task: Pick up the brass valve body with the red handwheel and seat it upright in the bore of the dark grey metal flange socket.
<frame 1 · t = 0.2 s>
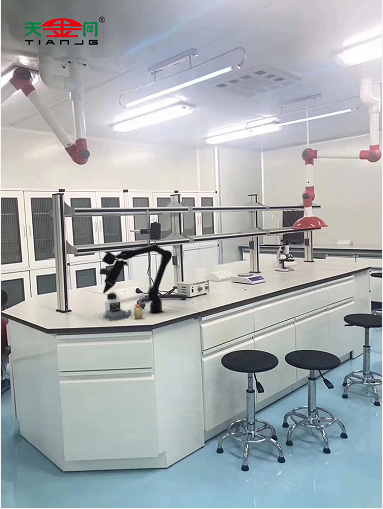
hand: (104, 291, 243), 15 cm above the table, tool tilted 30°, fingers open, 9 cm apart
medicine bottle: (113, 312, 253), on the table
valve: (138, 318, 235), on the table
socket: (115, 317, 239), on the table
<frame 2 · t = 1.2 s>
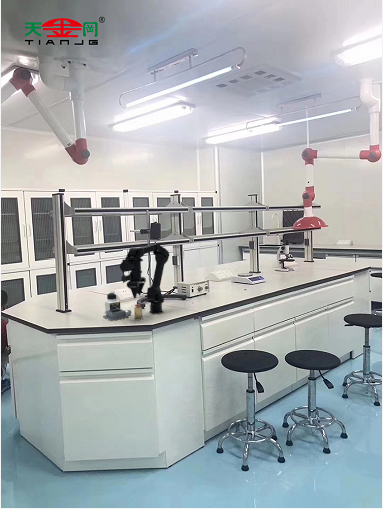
hand: (137, 296, 234), 13 cm above the table, tool pointing down, fingers open, 9 cm apart
nothing on the table moved.
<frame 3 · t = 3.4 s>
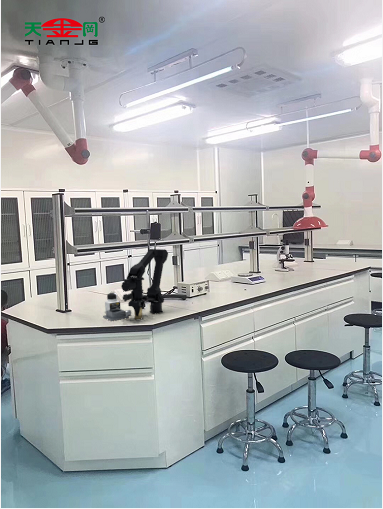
hand: (138, 315, 235), 2 cm above the table, tool pointing down, fingers closed on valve, 4 cm apart
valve: (138, 318, 235), on the table, touching gripper
everything else where it was.
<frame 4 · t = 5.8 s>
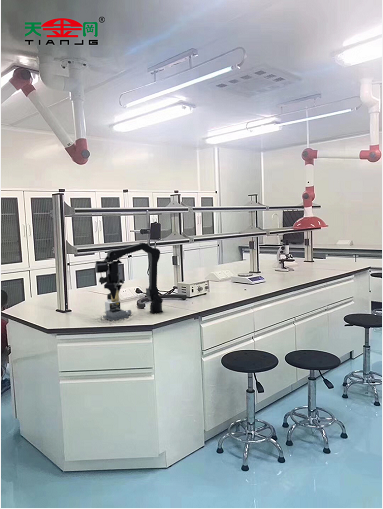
hand: (115, 297, 237), 12 cm above the table, tool pointing down, fingers closed on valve, 4 cm apart
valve: (115, 301, 238), point 10 cm above the table, touching gripper
everything else where it was.
when the fingers open (5 cm above the table, at t = 8.1 s): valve drops 2 cm, resting on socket.
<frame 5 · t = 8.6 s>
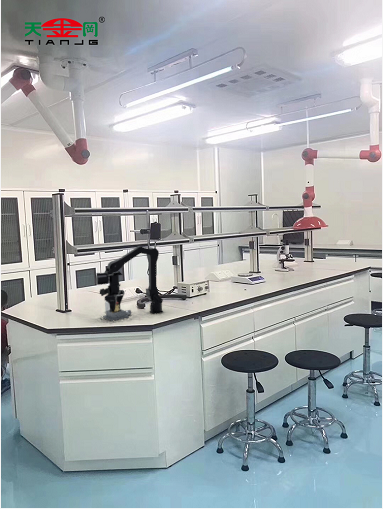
hand: (115, 309, 238), 5 cm above the table, tool pointing down, fingers open, 9 cm apart
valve: (115, 315, 238), point 1 cm above the table, touching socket
everything else where it was.
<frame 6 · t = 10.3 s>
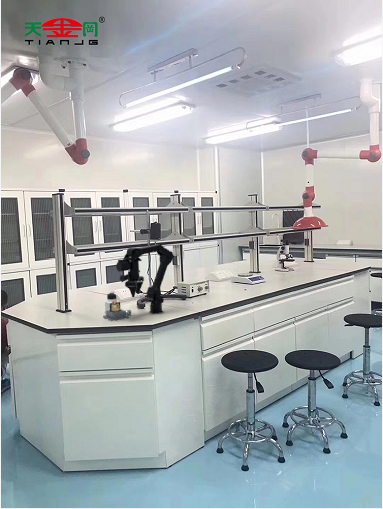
hand: (135, 295, 238), 13 cm above the table, tool pointing down, fingers open, 9 cm apart
nothing on the table moved.
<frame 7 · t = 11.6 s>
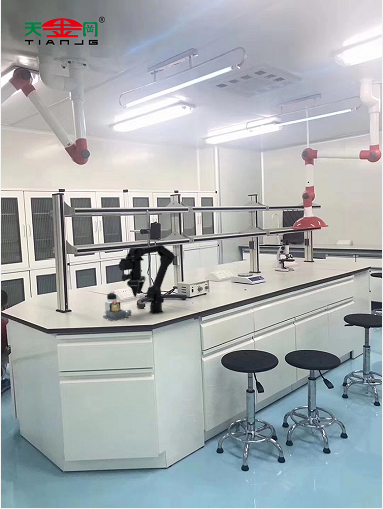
hand: (137, 295, 238), 13 cm above the table, tool pointing down, fingers open, 9 cm apart
nothing on the table moved.
at the end: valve 0.0 cm off-centre on the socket, point 1.2 cm above the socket's base; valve tilted 0°; the gripper is holding nothing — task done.
